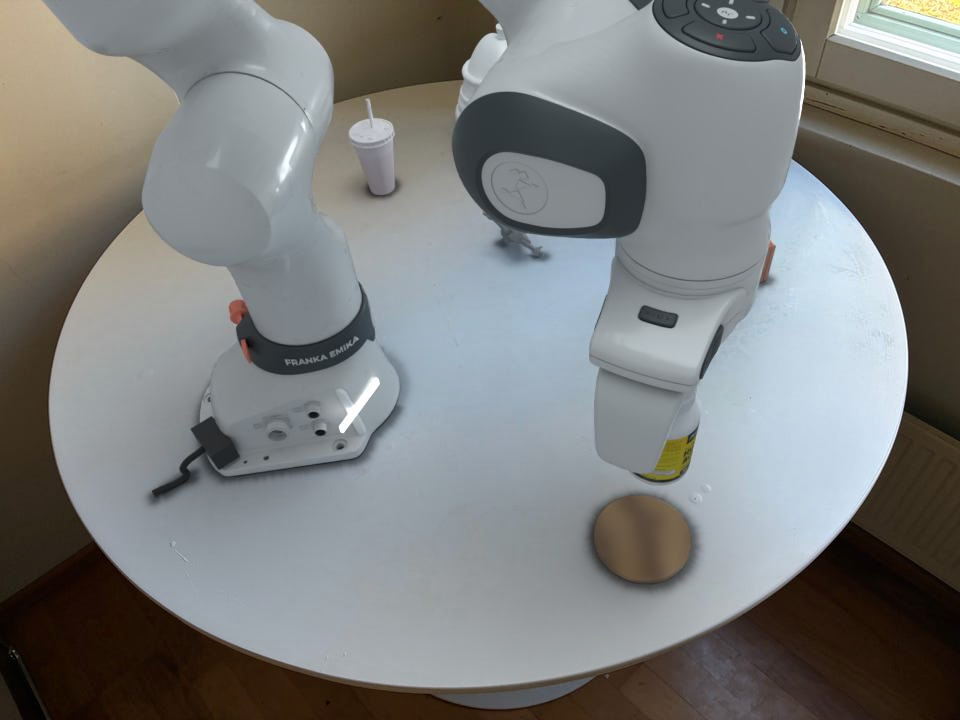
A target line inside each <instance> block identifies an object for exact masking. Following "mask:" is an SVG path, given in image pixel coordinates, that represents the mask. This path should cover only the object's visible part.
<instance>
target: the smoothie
mask: <svg viewBox="0 0 960 720" xmlns="http://www.w3.org/2000/svg"><path fill="white" fill-rule="evenodd" d="M365 106H366V110H367V115H368V118H366V119H362V120H360V121H358V122H356V123H354V124H353V125H352V126H351V127H350V128H349V130H348V138H349V139H348V140H349V143H350V144H351V145H352V146H353V147H354V151H355V153H356V155H357V158H358V161H359V163H360V166H361V168H362V171H363V174H364V176H365V180H366V182H367V185H368V187H369V190H370V192H371V193H372V194H373V195H375V196H385V195H388V194H391V193H392V192H393V191H394V190H395V189H396V177H395V176H396V175H395V160H394V159H395V157H394V154H395V153H394V137H395V130H394V124H393V123H392V122H391V121H389V120H387V119H384V118H380V117H379V118H378V117H374V114H373V110H372V105H371V100H370V98H369V97H368V98H365Z"/></svg>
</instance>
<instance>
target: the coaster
mask: <svg viewBox="0 0 960 720" xmlns="http://www.w3.org/2000/svg"><path fill="white" fill-rule="evenodd" d="M593 542H594V546H595V550H596V553H597V555H598V557H599V559H600V560H601V562H602V563H603V565H605V567H607V568H608V570H610V571H611V572H612V573H613V574H615V575H617V576H618V577H620V578H622V579H623V580H626V581H629V582H632V583H637V584H657V583H661V582H664V581H667V580H669V579H671V578H672V577H674V576H675V575H677V574H678V573H679V572H681V570H682V569H683V568H684V566H685V565H686V563H687V562H688V559H689V558H690V554H691V549H692V535H691V531H690V529H689V526H688V523H687V522H686V520H685V519H684V517H683V516H682V514H681V513H680V512H679V511H678V510H677V509H675V508H674V506H672V505H670V504H669V503H667V502H666V501H664V500H661V499H659V498H656V497H653V496H648V495H643V494H642V495H641V494H635V495H627V496H623V497H619V498H617V499H615V500H613V501H612V502H611V503H609V504H608V505H606V506H605V507H604V508H603V509H602V511H601V512H600V513H599V515H598V517H597V518H596V521H595V524H594V529H593Z"/></svg>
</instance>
